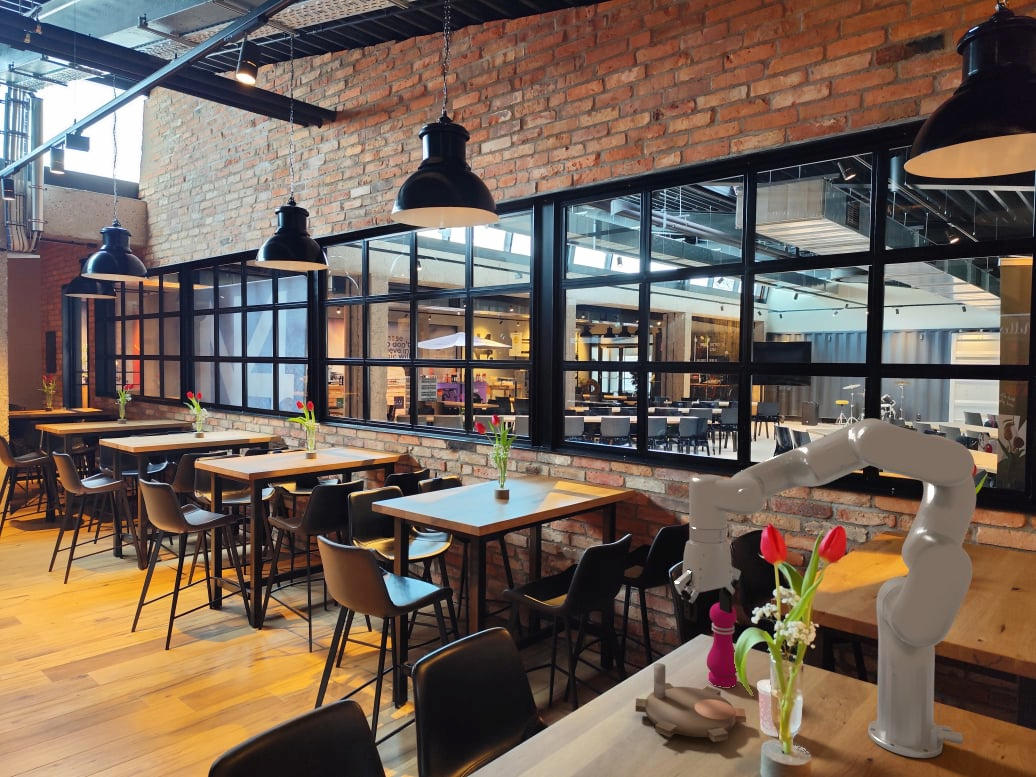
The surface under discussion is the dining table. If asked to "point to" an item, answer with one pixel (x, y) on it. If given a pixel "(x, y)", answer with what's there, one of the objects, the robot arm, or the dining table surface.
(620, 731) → the dining table surface
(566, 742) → the dining table surface
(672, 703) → the sprocket
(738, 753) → the dining table surface
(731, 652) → the pepper mill
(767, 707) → the beverage cup
